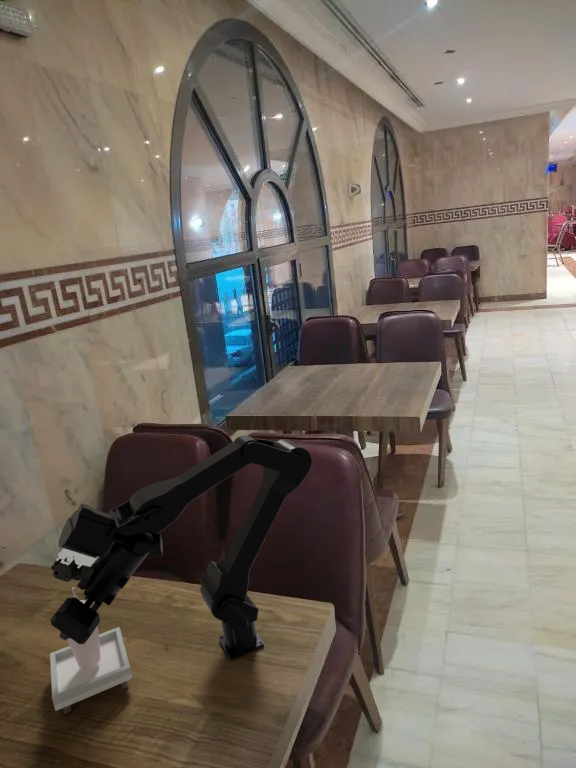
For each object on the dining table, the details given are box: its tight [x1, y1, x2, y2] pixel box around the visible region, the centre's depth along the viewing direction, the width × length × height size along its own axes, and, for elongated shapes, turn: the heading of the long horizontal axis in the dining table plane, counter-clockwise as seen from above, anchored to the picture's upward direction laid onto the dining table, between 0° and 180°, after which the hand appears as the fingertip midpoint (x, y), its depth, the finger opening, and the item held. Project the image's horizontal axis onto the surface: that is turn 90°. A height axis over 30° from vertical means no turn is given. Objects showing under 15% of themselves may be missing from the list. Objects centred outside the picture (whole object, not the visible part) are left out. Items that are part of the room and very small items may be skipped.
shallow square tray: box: [49, 626, 133, 715], centre depth 92 cm, size 12×12×4 cm
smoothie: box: [66, 586, 101, 669], centre depth 90 cm, size 6×6×14 cm
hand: (72, 623), depth 90 cm, fingers closed on smoothie, 6 cm apart
